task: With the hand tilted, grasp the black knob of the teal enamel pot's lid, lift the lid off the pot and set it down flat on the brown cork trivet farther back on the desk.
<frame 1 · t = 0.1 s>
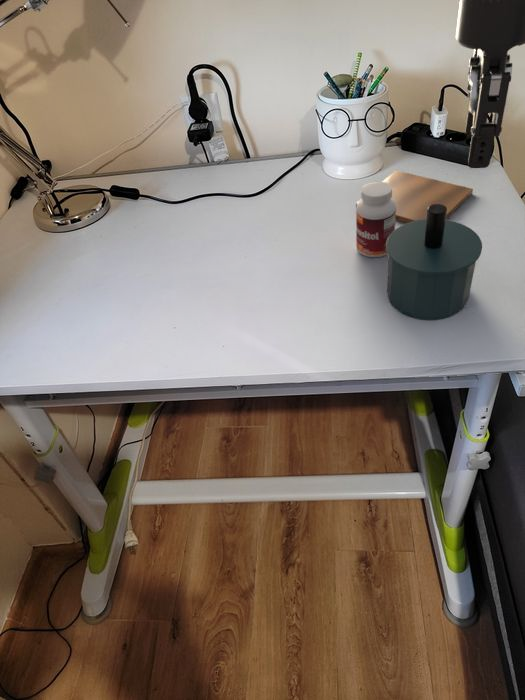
hand: (476, 149, 60), 22 cm above the table, tool pointing down, fingers open, 8 cm apart
trivet: (413, 200, 94), on the table
lid: (432, 246, 70), point 8 cm above the table, touching pot
pill bottle: (374, 248, 86), on the table
pot: (427, 293, 76), on the table
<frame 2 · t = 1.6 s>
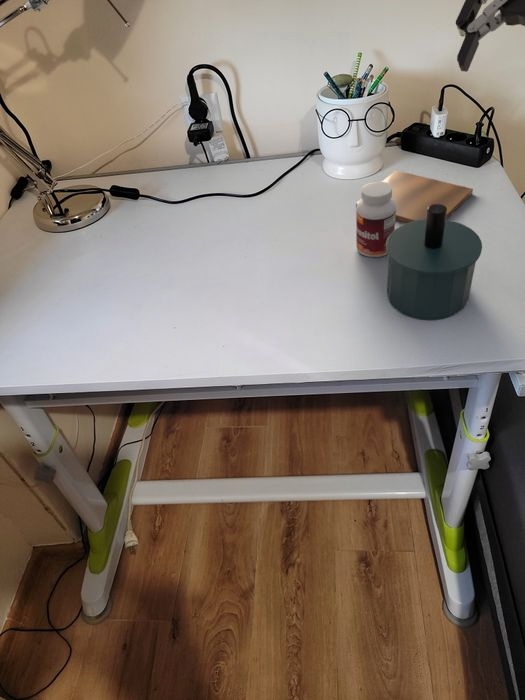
hand: (495, 72, 63), 27 cm above the table, tool tilted 45°, fingers open, 8 cm apart
nothing on the table moved.
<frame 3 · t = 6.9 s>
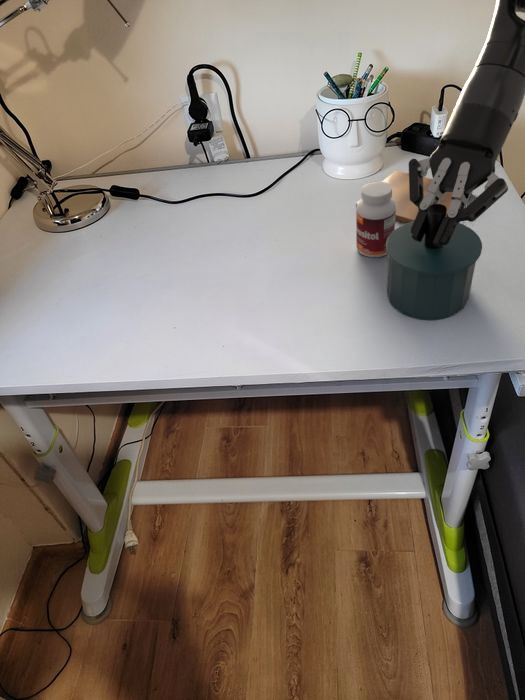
hand: (426, 242, 68), 10 cm above the table, tool tilted 45°, fingers closed on lid, 2 cm apart
lid: (432, 246, 70), point 9 cm above the table, touching gripper, pot
everything else where it was.
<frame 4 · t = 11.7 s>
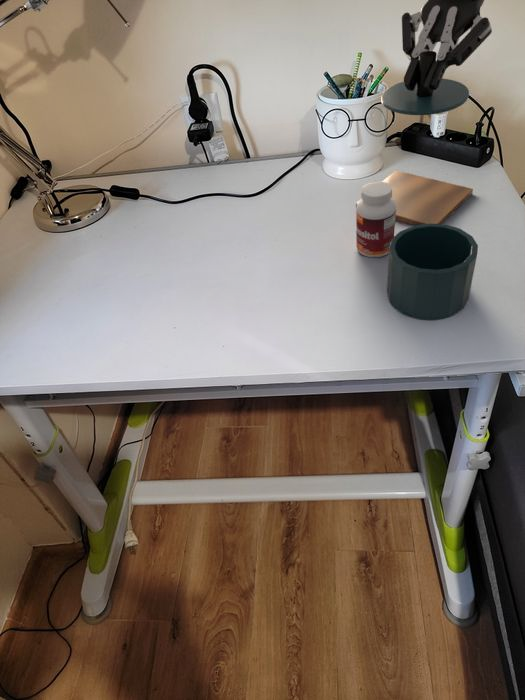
hand: (418, 89, 74), 22 cm above the table, tool tilted 45°, fingers closed on lid, 2 cm apart
lid: (424, 97, 77), point 20 cm above the table, touching gripper
everything else where it was.
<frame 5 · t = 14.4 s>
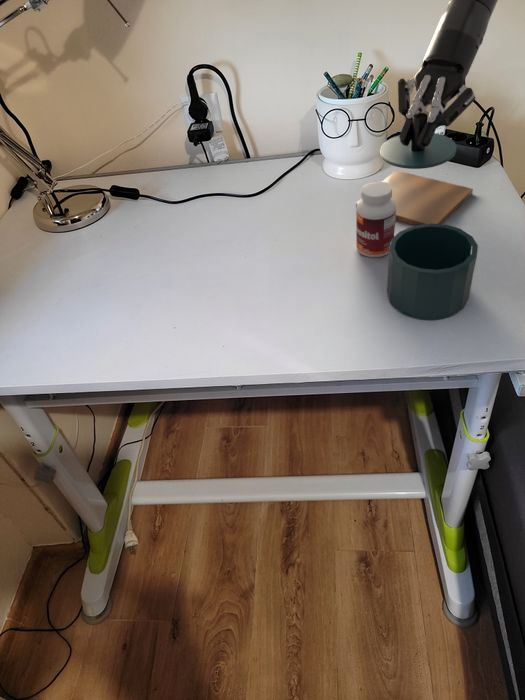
hand: (412, 145, 85), 11 cm above the table, tool tilted 45°, fingers closed on lid, 2 cm apart
lid: (417, 151, 88), point 10 cm above the table, touching gripper
everything else where it was.
when the fingers open (4 cm above the table, at t = 16.4 s): lid stays where it is, resting on trivet.
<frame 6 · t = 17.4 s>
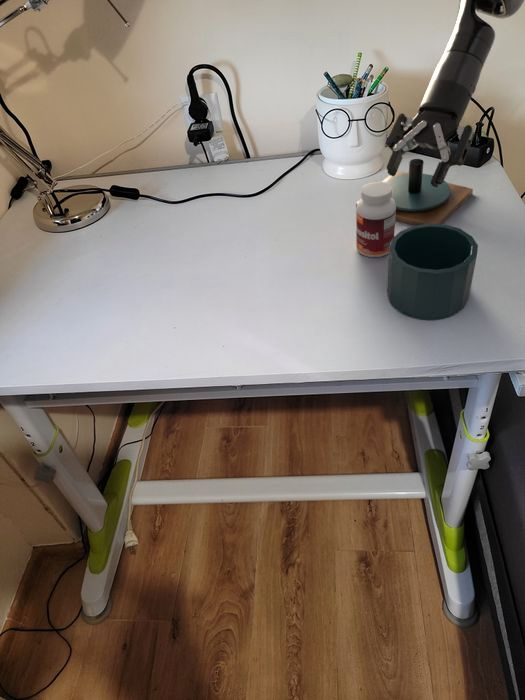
hand: (411, 180, 90), 5 cm above the table, tool tilted 45°, fingers open, 8 cm apart
lid: (414, 192, 93), point 2 cm above the table, touching trivet
everything else where it was.
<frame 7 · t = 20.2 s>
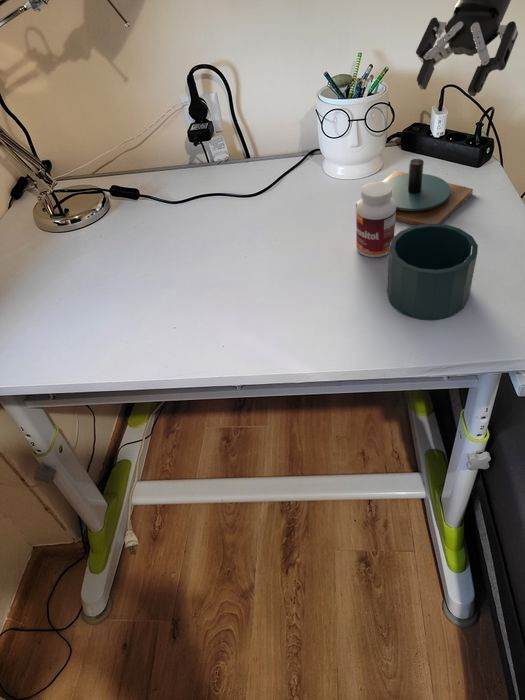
hand: (445, 90, 81), 19 cm above the table, tool tilted 45°, fingers open, 8 cm apart
nothing on the table moved.
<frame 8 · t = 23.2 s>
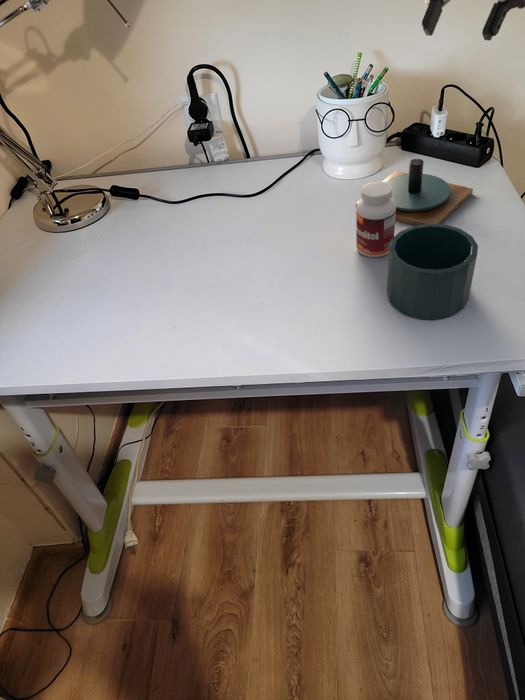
hand: (455, 34, 69), 29 cm above the table, tool tilted 45°, fingers open, 8 cm apart
nothing on the table moved.
at the end: lid inside the target area on the trivet (0.1 cm from its centre), point 1.6 cm above the trivet's base; lid tilted 0°; the gripper is holding nothing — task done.
